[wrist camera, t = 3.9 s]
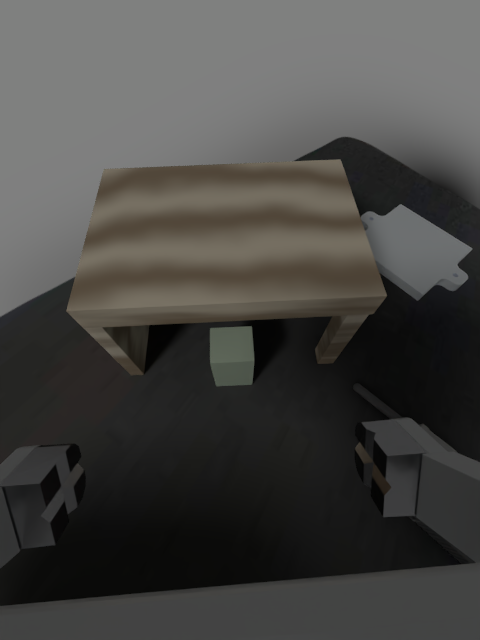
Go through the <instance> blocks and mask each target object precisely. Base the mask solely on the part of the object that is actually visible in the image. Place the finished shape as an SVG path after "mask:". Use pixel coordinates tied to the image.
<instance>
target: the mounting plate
mask: <svg viewBox="0 0 480 640" xmlns="http://www.w3.org/2000/svg"><path fill="white" fill-rule="evenodd" d="M361 221H362V224H363V227H364V230H365V232H366V235H367V238H368V241H369V244H370V247H371V250H372V253H373V256H374V259H375V262H376V265H377V268H378V271H379V273H381V274H382V275H383V276H385V277H386V278H387V279H389V280H390V281H392V282H393V283H394V284H396V285H397V286H398V287H400V288H401V289H402V290H404V291H405V292H406V293H408V294H409V295H410V296H412V297H413V298H414V299H416V300H417V301H418V300H419V299H420V298H422V297H423V296H424V295H425V294H426V293H427V292H428V291H429V290H430V289H431V288H432V287H433V286H435V285H441V286H443V287H444V288H446V289H448V290H450V291H455V290H457V289H458V288H459V287H460V286H461V285H462V284H463V283H464V282H465V281H466V280H467V279H468V275H467V274H466V273H465V272H464V271H462V270H461V269H460V268H459V267H458V265H457V264H458V263H459V262H460V261H461V260H462V259H463V258H464V257H465V256H466V255H467V254H468V253H469V252H470V251H471V250H472V248H471V247H469V246H467V245H466V244H464V243H463V242H461V241H459V240H458V239H456V238H454V237H453V236H451V235H450V234H448V233H446V232H445V231H443V230H442V229H440V228H438V227H437V226H435V225H434V224H432V223H430V222H429V221H427V220H425V219H424V218H422V217H421V216H419V215H417V214H416V213H414V212H413V211H411V210H409V209H408V208H406V207H405V206H403V205H401V204H400V205H399V206H398V207H396V208H395V209H394V210H392V211H391V212H390V213H388V214H387V215H385V216H379V215H377V214H376V213H374V212H366V213H365V214H363V215H362V216H361Z"/></svg>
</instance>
